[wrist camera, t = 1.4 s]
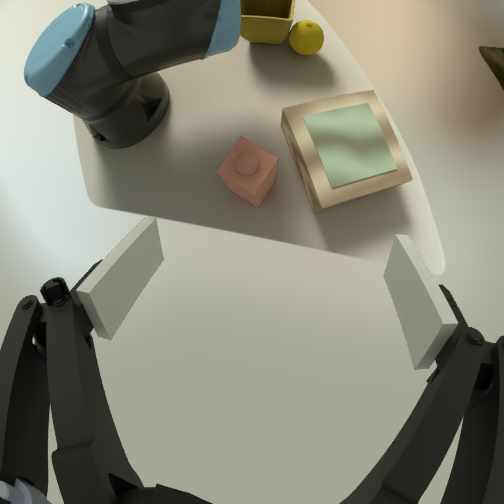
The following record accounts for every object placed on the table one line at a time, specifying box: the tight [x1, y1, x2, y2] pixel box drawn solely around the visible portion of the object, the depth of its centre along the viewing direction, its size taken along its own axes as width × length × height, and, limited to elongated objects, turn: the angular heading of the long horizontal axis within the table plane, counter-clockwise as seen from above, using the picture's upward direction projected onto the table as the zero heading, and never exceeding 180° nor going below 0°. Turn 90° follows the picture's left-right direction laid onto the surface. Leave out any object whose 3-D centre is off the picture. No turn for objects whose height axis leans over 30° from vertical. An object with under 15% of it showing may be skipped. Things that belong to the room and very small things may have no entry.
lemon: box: [289, 20, 324, 55], centre depth 33 cm, size 6×6×8 cm
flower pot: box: [240, 0, 295, 44], centre depth 32 cm, size 9×9×9 cm
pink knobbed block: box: [216, 136, 279, 208], centre depth 32 cm, size 4×4×13 cm
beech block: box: [281, 90, 413, 212], centre depth 35 cm, size 14×14×6 cm
